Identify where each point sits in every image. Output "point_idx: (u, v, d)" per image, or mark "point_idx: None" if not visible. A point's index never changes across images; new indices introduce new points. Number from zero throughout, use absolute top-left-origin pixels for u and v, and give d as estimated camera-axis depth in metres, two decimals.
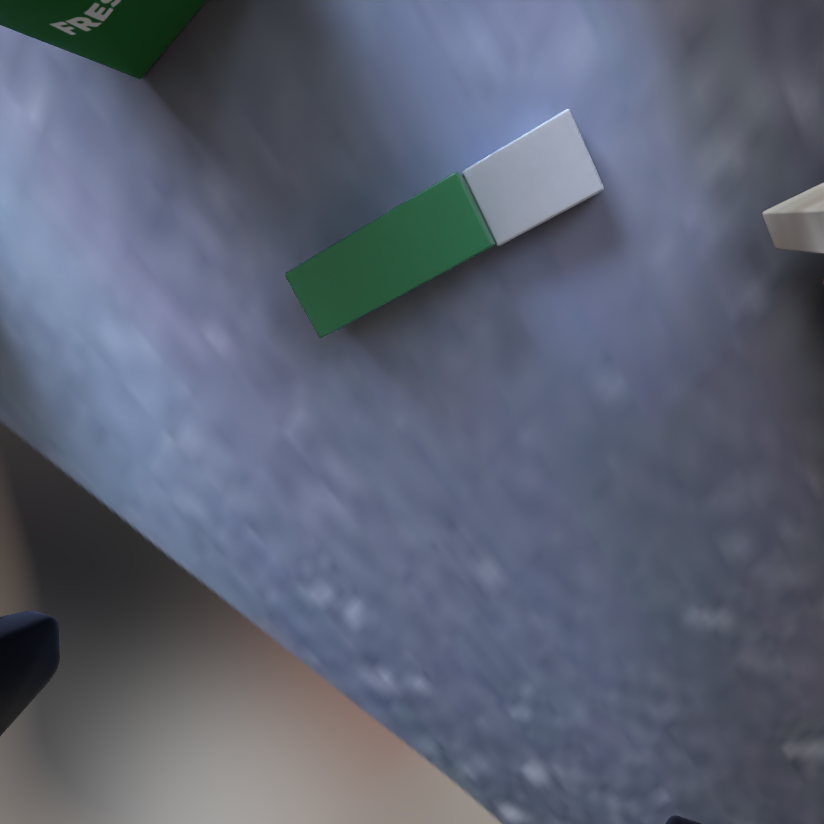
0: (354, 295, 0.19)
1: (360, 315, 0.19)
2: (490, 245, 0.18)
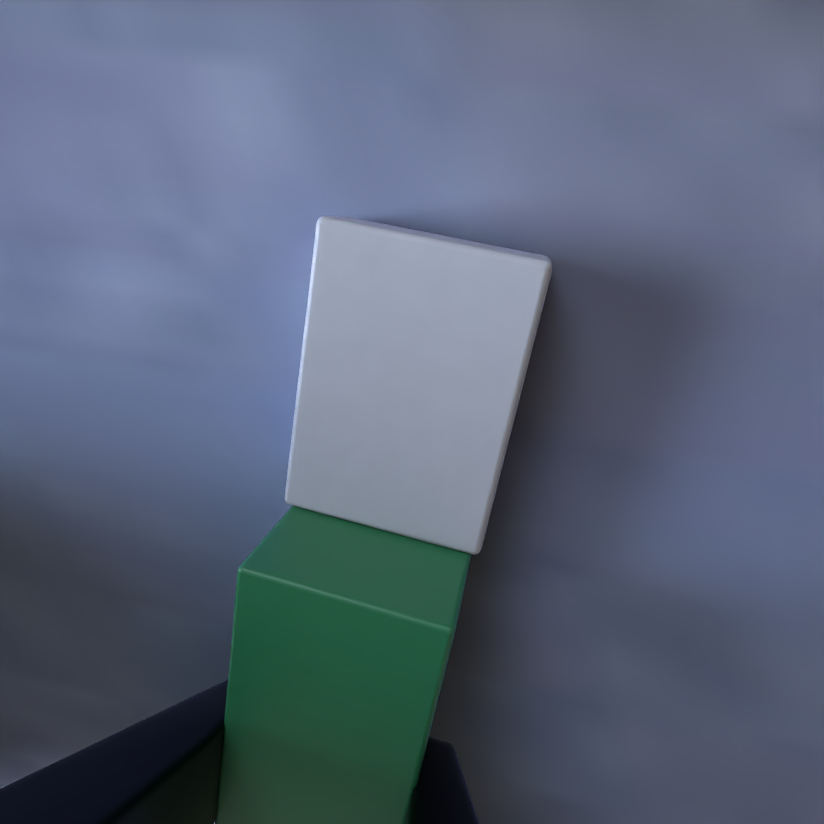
0: None
1: None
2: (451, 630, 0.06)
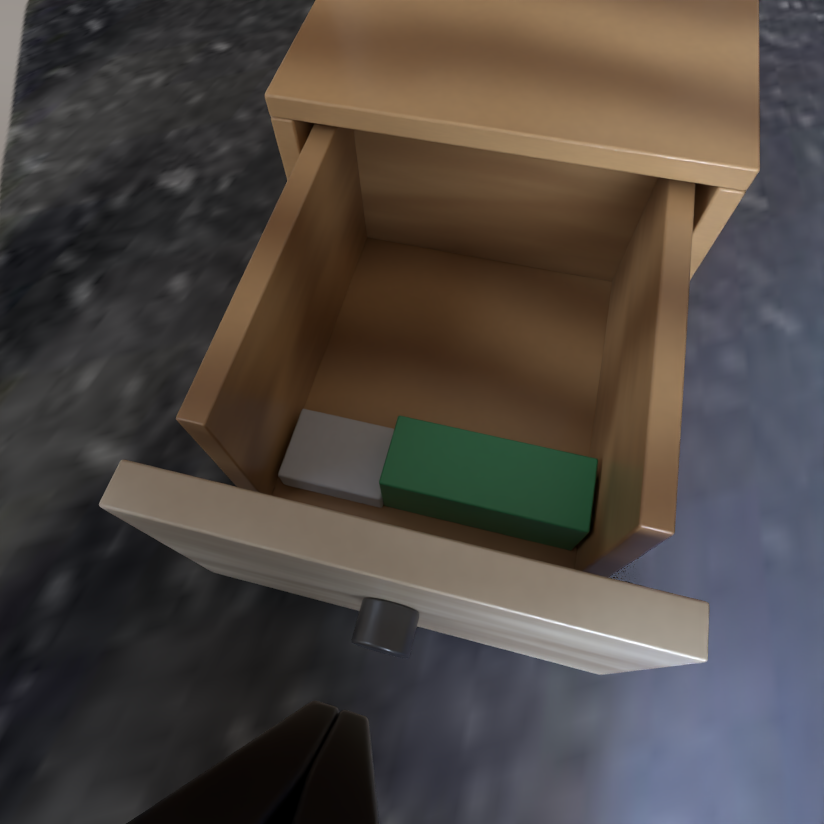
0: (537, 466, 0.18)
1: (544, 447, 0.18)
2: (399, 416, 0.19)
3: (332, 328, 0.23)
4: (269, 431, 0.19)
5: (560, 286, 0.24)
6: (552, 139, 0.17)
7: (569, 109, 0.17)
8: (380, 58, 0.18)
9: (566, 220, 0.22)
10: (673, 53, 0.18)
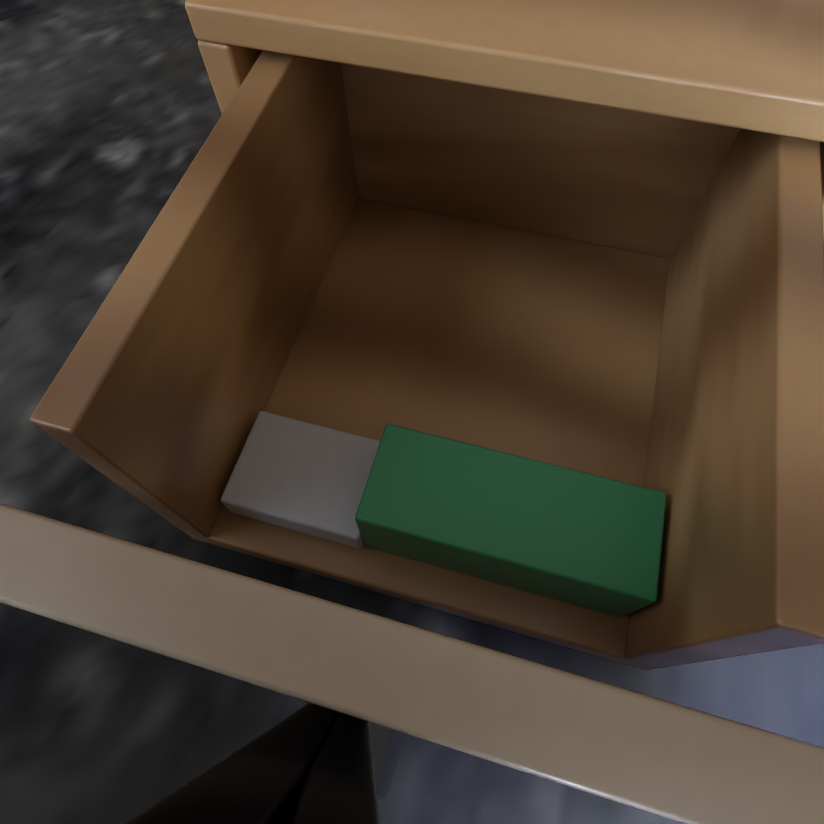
0: (579, 500, 0.13)
1: (590, 474, 0.13)
2: (388, 424, 0.14)
3: (308, 309, 0.18)
4: (206, 440, 0.13)
5: (602, 262, 0.19)
6: (609, 70, 0.11)
7: (633, 29, 0.12)
8: None
9: (617, 172, 0.16)
10: None
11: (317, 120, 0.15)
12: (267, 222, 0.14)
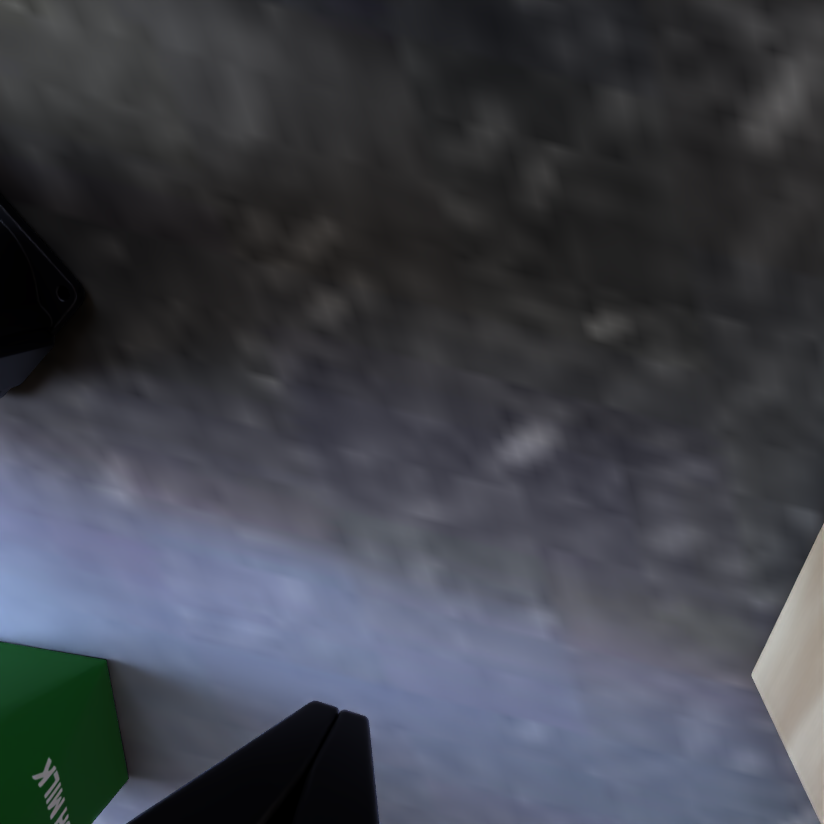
0: None
1: None
2: None
3: None
4: None
5: None
6: None
7: None
8: None
9: None
10: None
11: None
12: None
